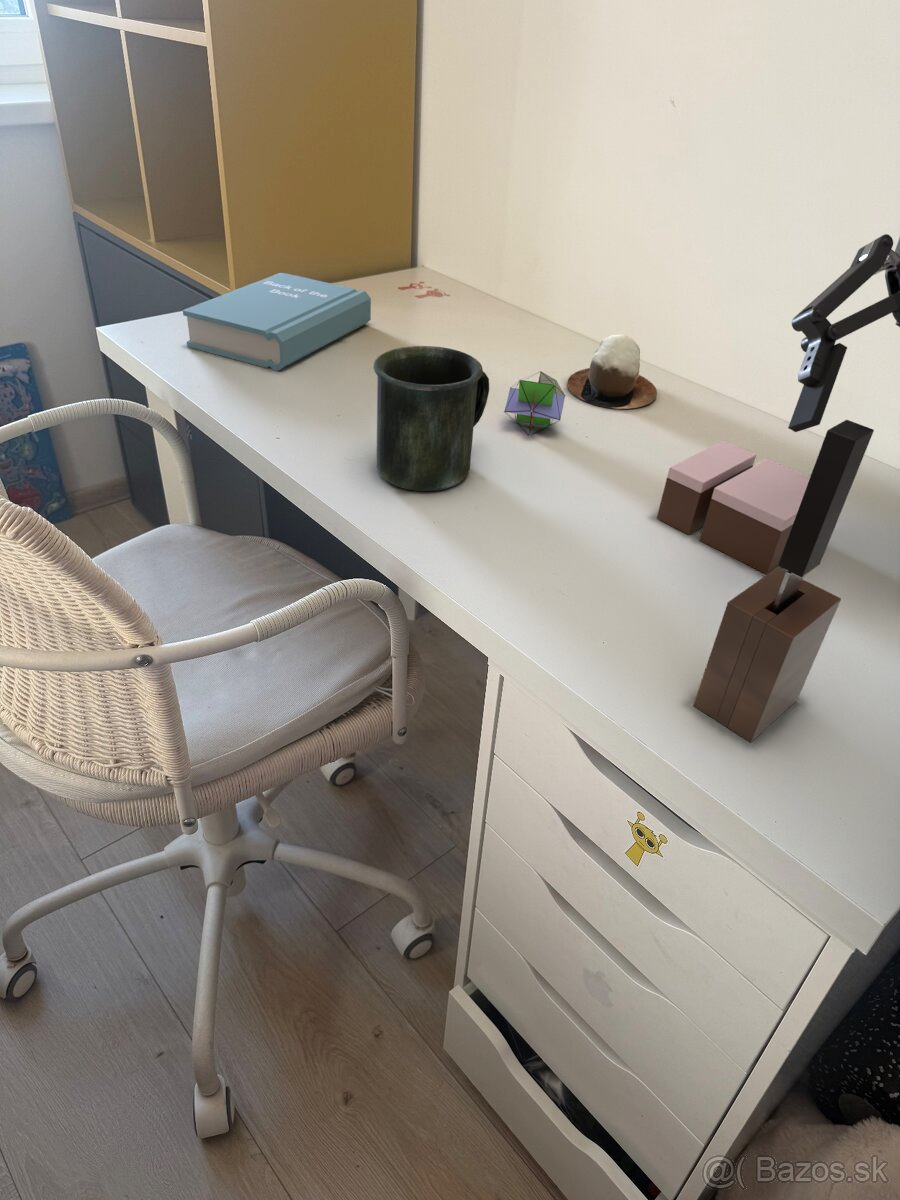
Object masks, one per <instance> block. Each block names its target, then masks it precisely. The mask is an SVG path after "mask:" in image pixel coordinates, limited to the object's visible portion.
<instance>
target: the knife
mask: <svg viewBox="0 0 900 1200" xmlns="http://www.w3.org/2000/svg"><path fill="white" fill-rule="evenodd" d="M874 431H875V429H873V428H871V427H868V426H865V425H863V424H861V423H857V422H854V421H852V420H849V419H845V420H843V421H841V422H840V423H838V424H836V425H834V426H833V427H830V428H829V429H828V430H827V431H826V433H825V436H824V439H823V442H822V444H821V446H820V449H819V453H818V455H817V458H816V461H815V463H814V466H813V468H812V472H811V474H810V476H809V477H810V479H809V482H808V485H807V487H806V490H805V493H804V496H803V498H802V501H801V504H800V506H799V509H798V512H797V515H796V517H795V520H794V523H793V526H792V528H791V531H790V534H789V536H788V539H787V542H786V545H785V547H784V550H783V553H782V555H781V558H780V561H779V564H778V566H777V567H779V568H781V569H783V570H785V571H787V572H786V574H785V576H784V579H783V582H782V584H781V587H780V590H779V592H778V595H777V597H776V600H775V603H774V605H773V608H772V611H771V612H773V613H774V614H776V615H778V614H780V613H781V612H782V611H783V610H785V609H786V608H787V607H789V606H790V605H791V604H793V603H794V601H795V598H796V596H797V593H798V591H799V588H800V586H801V583H802V581H803V580H804V578H805V576H806V575H807V574H809V573H810V572H811V571H813V570H814V569H815V568H817V567H818V566H819V565H821V563H822V560H823V557H824V555H825V553H826V551H827V548H828V545H829V543H830V540H831V538H832V535H833V532H834V530H835V529H836V525H837V523H838V520H839V518H840V515H841V513H842V511H843V509H844V505H845V503H846V500H847V499H848V496H849V493H850V491H851V488H852V486H853V484H854V481H855V479H856V476H857V473H858V471H859V469H860V466H861V464H862V461H863V458H864V456H865V454H866V451H867V449H868V446H869V444H870V441H871V439H872V436H873V435H874Z"/></svg>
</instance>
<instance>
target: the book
mask: <svg viewBox="0 0 900 1200" xmlns="http://www.w3.org/2000/svg"><path fill="white" fill-rule="evenodd" d="M371 311H372V298H371V297H370V295H369V294H368V293H367V292H366V290H362V289H359V290H357V289H356V288H353V287H349V286H345V285H340V284H335V283H330V282H325V281H322V280H317V279H313V278H309V277H304V276H300V275H295V274H290V273H287V272H286V273H285V272H278V273H276V274H273V275H270V276H267V277H265V278H263V279H261V280H258V281H255V282H253V283H249V284H247V285H245V286H242V287H239V288H237V289H234V290H231V291H229V292H226V293H224V294H221V295H219V296H217V297H213V298H211V299H208V300H206V301H203V302H200V303H198V304H194V305H192V306H190V307H188V308H185V309H183V310H182V316H184V317H186V320H187V321H186V322H187V328H188V329H187V330H188V336H189V337H188V338H189V339H188V340H187V341H186V346H187V348H191V349H195V350H198V351H202V352H206V353H210V354H214V355H217V356H220V357H225V358H228V359H231V360H236V361H240V362H244V363H247V364H251V365H254V366H257V367H258V366H259V367H262V368H266V369H267V368H268V369H269V367H270V369H271V370H274V371H277V372H279V371H280V370H283V369H284V368H286V367H288V366H291V364H295V362H297V361H299V360H301V359H303V358H304V357H307V356H308V355H311V354H312V353H314V352H316V351H318V350H321V349H322V348H324V347H326V346H327V345H329V344H331V343H333V342H335V341H337V340H338V339H341V338H342V337H344V336H346V335H348V334H350V333H352V332H354V331H356V330H358V329H359V328H361V327H363V326H365V325H366V324H368V323H369V322H370V321H371V319H372V318H371V314H372V312H371Z"/></svg>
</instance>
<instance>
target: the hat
mask: <svg viewBox="0 0 900 1200" xmlns="http://www.w3.org/2000/svg"><path fill="white" fill-rule="evenodd" d="M640 367H641V349H640V346H639V344H638V343H637V342H636V341H635V339H633V338H632V337H630V336H628V335H626V334H612V335H609V336H607V337H606V338H604V339H602V340H601V341H600V343H599V347H597V349H595V351H594V354H593V356H592V358H591V360H590V365H589V368H583V369H580V370H577V371H575V372H574V373H572V374H570V376H569V377H568V379H567V381H566V382H567V383H566V384H567V388H568V390H570V392H571V393H572V394H573V395H574V396H576V397H577V398H579V399H580V400H581V401H584V402H585V403H588V404H591V405H593V406H597V407H602V408H607V409H608V408H609V409H616V410H617V409H620V410H625V409H628V410H629V409H636V408H641V407H645V406H647V405H649V404H651V403H652V402H654V401H655V399H656V398H657V395H658V390H657V388H656V386H655V385H654V384H653V383H652V382H651V381H650V380H649V379H648V378H646V376H642V375H641V374H640V369H641V368H640Z"/></svg>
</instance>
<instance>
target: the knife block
mask: <svg viewBox="0 0 900 1200" xmlns="http://www.w3.org/2000/svg"><path fill="white" fill-rule="evenodd" d="M787 571H788V570H786V569H783V568H781V567H779V566H777V567H776V568H775V569H773V570H772V571H770V572H769V573H767V574H765V576H763V577H762V578H760V579H759V580H757V581H756V582H755V583H753V584H752V585H750V586H748V587H747V588H746V589H745V590H743V591H742V592H740V593H739V594H737V595H736V596H734V597H733V598H732V599H731V600H729V601H728V602H727V603H726V606H725V609H724V612H723V614H722V618H721V621H720V624H719V627H718V630H717V633H716V637H715V639H714V642H713V645H712V648H711V651H710V653H709V654H710V655H709V657H708V661H707V664H706V667H705V669H704V673H703V675H702V677H701V678H702V679H701V682H700V684H699V687H698V690H697V692H696V696H695V699H694V702H693V707H694V708H695V709H697V710H699V711H701V712H702V713H704V714H705V715H707V716H708V717H710V718H711V719H713V720H714V721H716V722H718V723H719V724H721V725H722V726H724V727H726V728H727V729H729V730H730V731H731V732H733V733H735V734H736V735H738V736H740V737H741V738H743V739H744V740H746V741H748V742H749V743H752V742H753V741H754V740H755V739H756V738H758V737H759V736H760V735H761V734H762V733H763V732H764V731H765V730H767V729H768V727H770V726H771V725H772V724H773V723H774V722H775V721H776V720H777V719H779V718H780V717H781V716H782V715H783V714H784V713H785V712H786V711H787V710H788V709H789V708H790V707H792V706H793V705H794V704H795V703H796V702H797V701H798V699H799V697H800V695H801V692H802V690H803V687H804V686H805V683H806V680H807V679H808V677H809V674H810V671H811V670H812V667H813V665H814V662H815V661H816V658H817V655H818V653H819V651H820V649H821V646H822V644H823V642H824V639H825V637H826V635H827V632H828V631H829V628H830V626H831V624H832V621H833V619H834V618H835V617H834V616H835V614H836V612H837V609H838V608H839V605H840V603H841V600H842V598H841V597H839V596H837V595H835V594H833V593H831V592H829V591H827V590H825V589H823V588H821V587H819V586H817V585H815V584H813V583H811V582H809V581H807V580H805V579H803V581H802V583H801V586H800V588H799V591H798V593H797V596H796V598H795V601H794V603H793V604H791V605H790V606H789V607H787V608H786V609H785V610H783V611H782V612H781V613H780V614H778V615H776V614H774V613H773V612H771V611H772V608H773V605H774V603H775V600H776V597H777V595H778V592H779V590H780V587H781V584H782V582H783V579H784V576H785V574H786V572H787Z"/></svg>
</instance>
